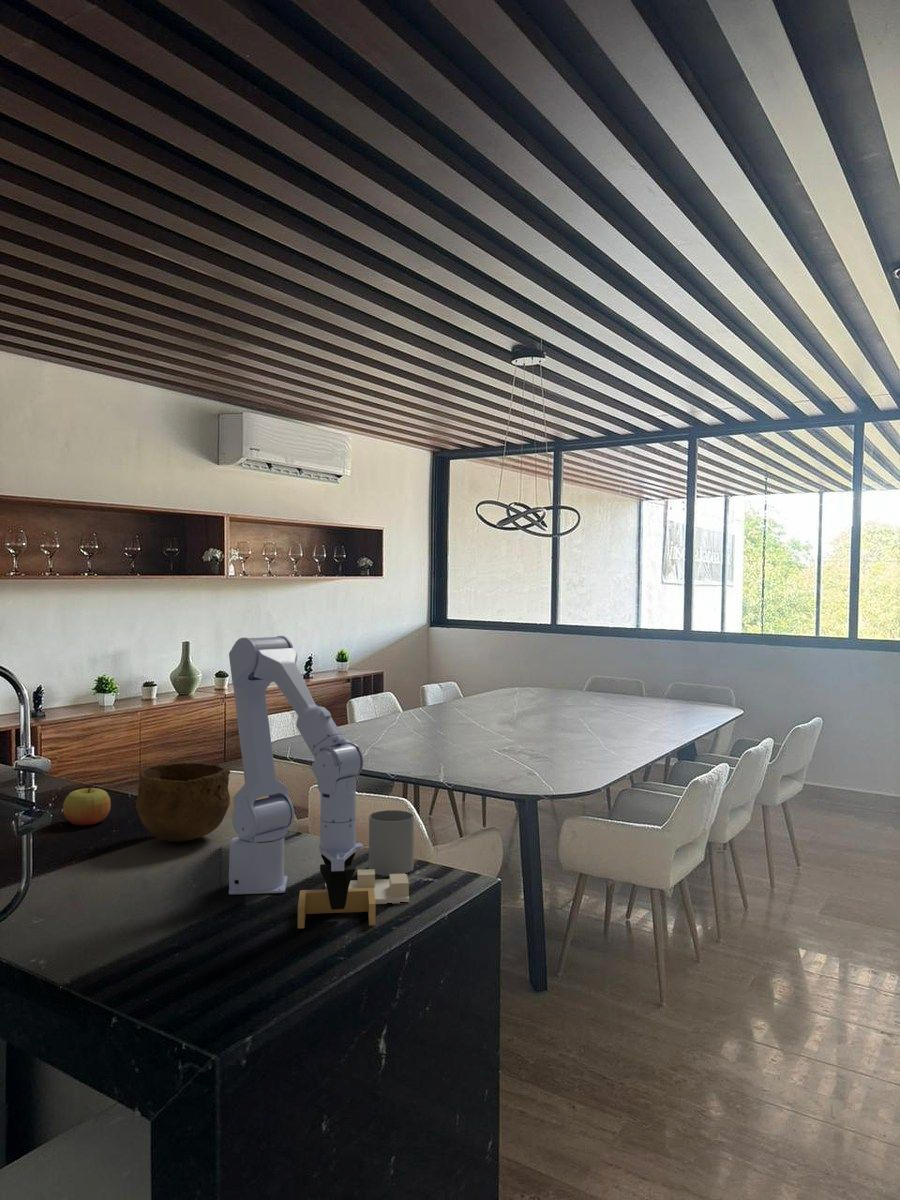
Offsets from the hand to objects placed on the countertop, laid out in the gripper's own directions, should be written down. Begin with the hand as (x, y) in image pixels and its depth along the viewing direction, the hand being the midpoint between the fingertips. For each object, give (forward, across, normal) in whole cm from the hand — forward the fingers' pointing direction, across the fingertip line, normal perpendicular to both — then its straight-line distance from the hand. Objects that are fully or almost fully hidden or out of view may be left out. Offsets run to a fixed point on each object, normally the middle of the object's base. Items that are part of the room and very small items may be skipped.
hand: (338, 901), depth 141 cm
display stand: (+2, +8, -5) cm, 9 cm away
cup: (+2, +21, -10) cm, 23 cm away
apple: (+1, +60, +56) cm, 82 cm away
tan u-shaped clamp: (+2, -3, 0) cm, 3 cm away
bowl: (+1, +44, +32) cm, 55 cm away
